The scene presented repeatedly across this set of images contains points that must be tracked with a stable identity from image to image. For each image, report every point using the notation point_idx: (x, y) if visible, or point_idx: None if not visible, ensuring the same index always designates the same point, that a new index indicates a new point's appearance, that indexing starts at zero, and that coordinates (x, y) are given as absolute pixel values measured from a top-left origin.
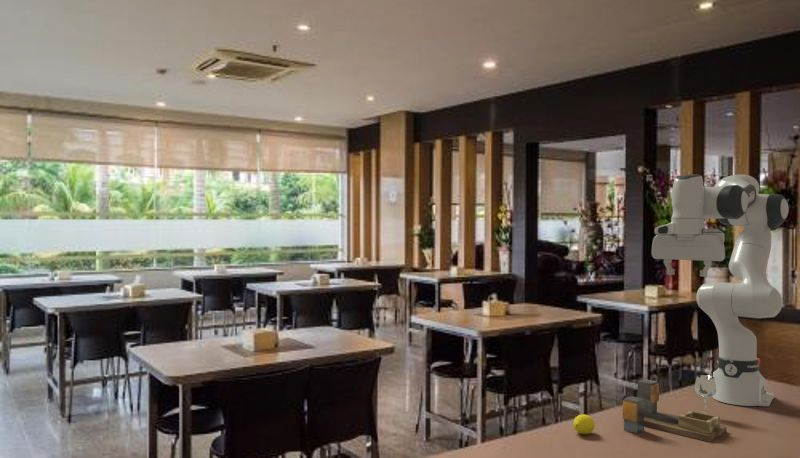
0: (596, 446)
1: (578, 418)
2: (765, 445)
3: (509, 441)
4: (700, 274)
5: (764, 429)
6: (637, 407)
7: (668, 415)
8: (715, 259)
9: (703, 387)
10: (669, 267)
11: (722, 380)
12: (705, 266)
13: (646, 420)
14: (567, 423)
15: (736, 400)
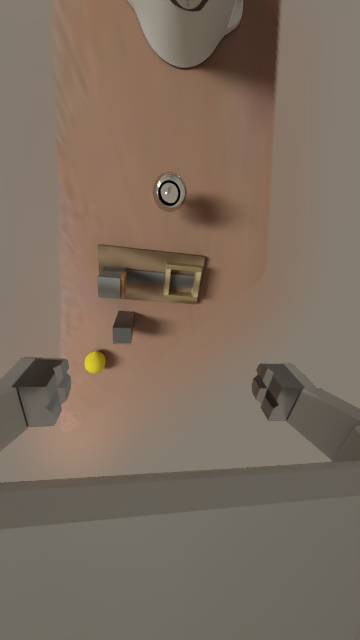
0: (124, 374)
1: (92, 372)
2: (242, 274)
3: (68, 406)
4: (259, 397)
5: (239, 208)
6: (131, 339)
7: (142, 273)
8: None
9: (171, 211)
10: (11, 429)
11: (163, 7)
12: (324, 450)
13: (127, 295)
14: (65, 342)
15: (190, 58)
